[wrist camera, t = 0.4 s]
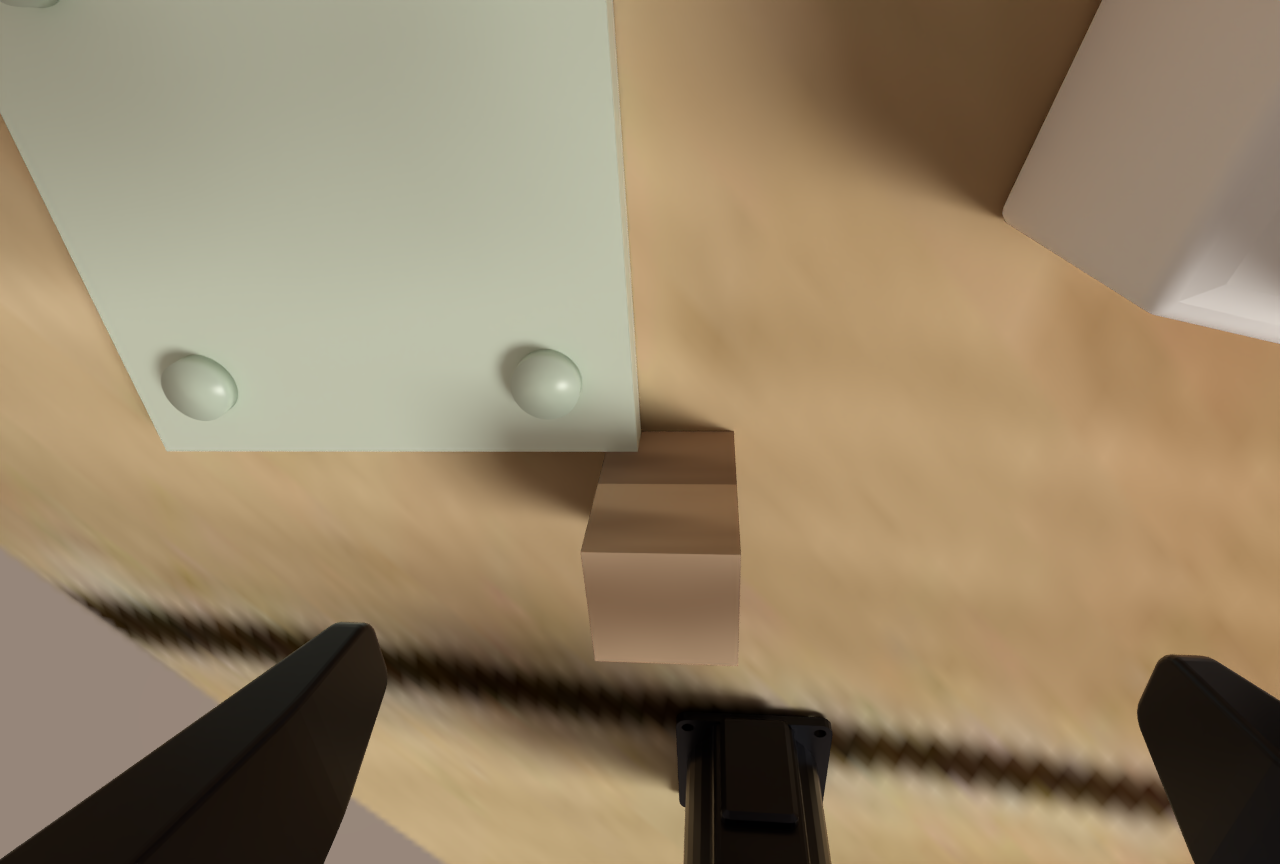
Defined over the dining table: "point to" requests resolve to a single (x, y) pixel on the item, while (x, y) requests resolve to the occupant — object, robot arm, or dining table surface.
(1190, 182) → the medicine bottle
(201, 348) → the baseplate
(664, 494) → the brown rectangular block
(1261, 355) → the dining table surface
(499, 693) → the dining table surface
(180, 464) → the dining table surface
